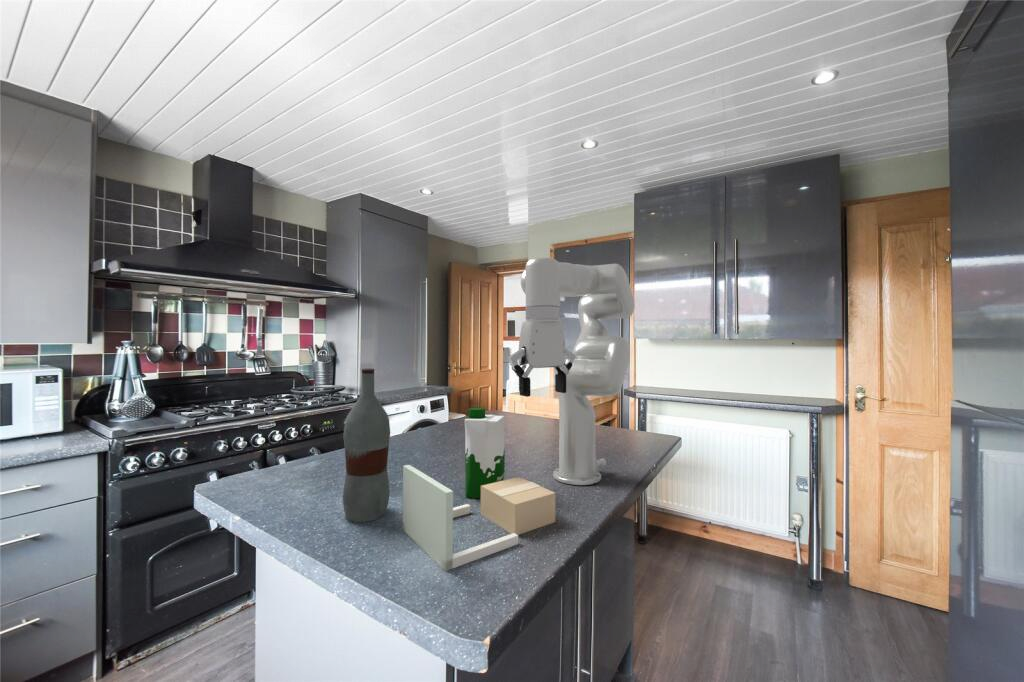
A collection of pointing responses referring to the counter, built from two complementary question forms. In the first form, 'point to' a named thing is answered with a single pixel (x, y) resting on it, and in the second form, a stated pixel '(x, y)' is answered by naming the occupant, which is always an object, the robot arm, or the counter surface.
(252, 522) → the counter surface
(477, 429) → the milk carton
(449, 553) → the display stand
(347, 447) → the bottle
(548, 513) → the kraft carton
